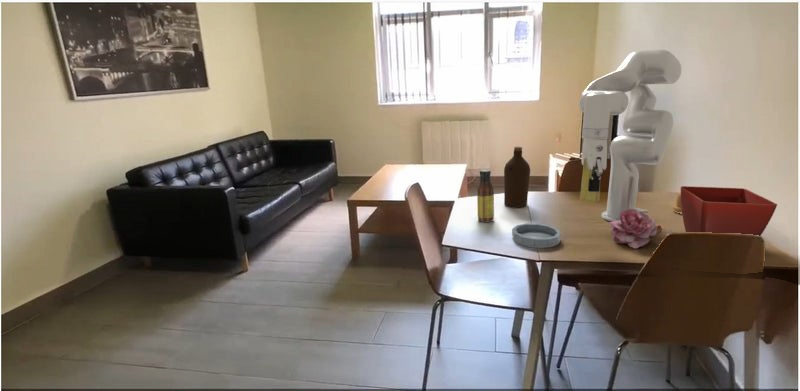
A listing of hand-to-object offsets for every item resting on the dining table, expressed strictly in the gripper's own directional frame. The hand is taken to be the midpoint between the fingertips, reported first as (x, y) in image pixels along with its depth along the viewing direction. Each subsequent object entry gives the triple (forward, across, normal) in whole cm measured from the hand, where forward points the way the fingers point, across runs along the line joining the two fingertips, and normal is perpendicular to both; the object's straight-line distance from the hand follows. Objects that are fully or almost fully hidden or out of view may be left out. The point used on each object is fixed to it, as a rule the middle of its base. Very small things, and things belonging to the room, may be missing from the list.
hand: (590, 188), depth 142 cm
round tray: (+18, 0, +16) cm, 24 cm away
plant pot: (+19, -4, -40) cm, 44 cm away
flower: (+19, 0, -15) cm, 24 cm away
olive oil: (+19, +40, +16) cm, 48 cm away
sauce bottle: (+18, +20, +31) cm, 42 cm away
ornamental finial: (+19, +30, -47) cm, 58 cm away
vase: (+4, 0, 0) cm, 4 cm away
